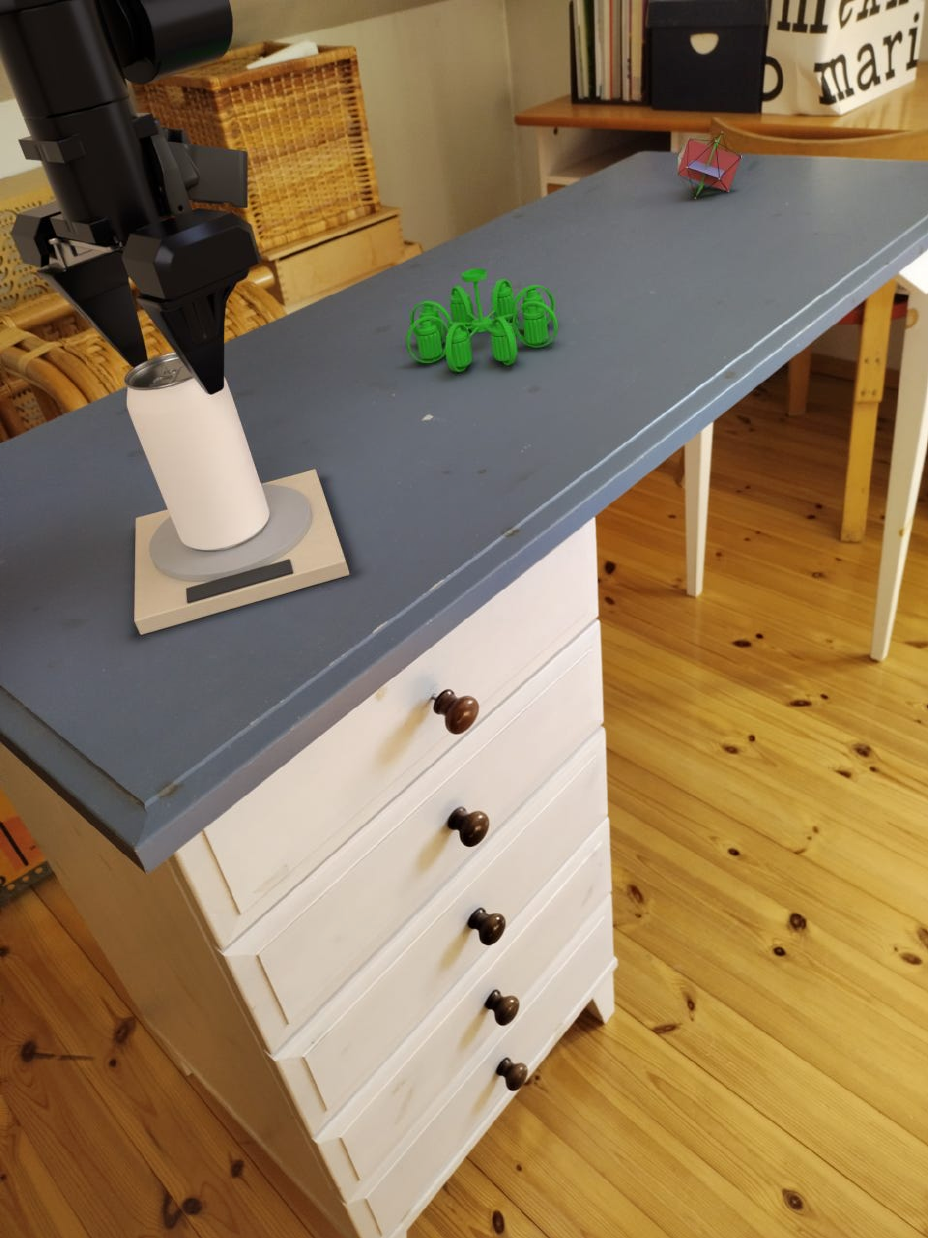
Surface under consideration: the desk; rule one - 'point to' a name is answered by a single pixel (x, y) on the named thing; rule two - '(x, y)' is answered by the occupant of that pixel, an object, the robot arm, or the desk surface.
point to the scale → (236, 559)
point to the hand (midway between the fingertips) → (176, 377)
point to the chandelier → (481, 323)
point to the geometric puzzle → (708, 164)
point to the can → (196, 455)
